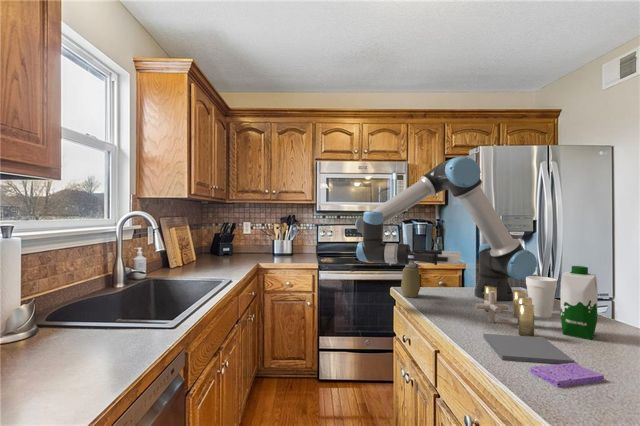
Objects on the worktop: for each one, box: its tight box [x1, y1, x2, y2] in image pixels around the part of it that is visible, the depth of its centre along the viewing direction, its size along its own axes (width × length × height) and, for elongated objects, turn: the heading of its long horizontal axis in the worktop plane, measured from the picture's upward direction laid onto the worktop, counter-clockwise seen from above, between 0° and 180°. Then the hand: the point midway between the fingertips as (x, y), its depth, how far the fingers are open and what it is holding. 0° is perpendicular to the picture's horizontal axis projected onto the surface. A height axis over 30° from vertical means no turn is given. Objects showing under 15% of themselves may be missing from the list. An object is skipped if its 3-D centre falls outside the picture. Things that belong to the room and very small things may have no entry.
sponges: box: [529, 362, 605, 388], centre depth 77 cm, size 7×13×2 cm, turn 104°
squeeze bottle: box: [400, 260, 421, 298], centre depth 151 cm, size 8×8×18 cm
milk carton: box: [560, 265, 598, 341], centre depth 105 cm, size 9×9×20 cm
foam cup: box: [525, 275, 558, 318], centre depth 125 cm, size 10×9×13 cm
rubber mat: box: [482, 333, 575, 365], centre depth 93 cm, size 16×16×1 cm
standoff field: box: [483, 286, 535, 337], centre depth 116 cm, size 12×30×9 cm, turn 170°
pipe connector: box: [474, 291, 509, 324], centre depth 116 cm, size 10×10×10 cm
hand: (460, 257), depth 120 cm, fingers open, 13 cm apart
